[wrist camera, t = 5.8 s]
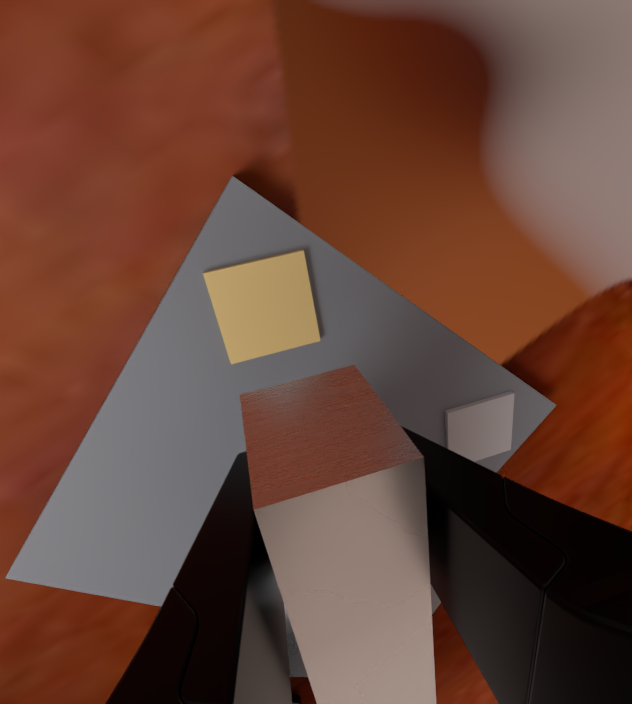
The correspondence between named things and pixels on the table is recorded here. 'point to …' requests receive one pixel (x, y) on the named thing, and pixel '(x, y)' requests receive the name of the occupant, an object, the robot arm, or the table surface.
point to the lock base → (246, 376)
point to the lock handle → (344, 537)
